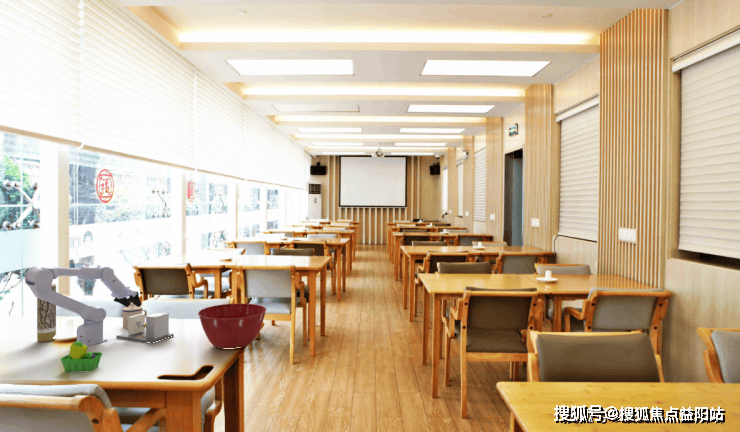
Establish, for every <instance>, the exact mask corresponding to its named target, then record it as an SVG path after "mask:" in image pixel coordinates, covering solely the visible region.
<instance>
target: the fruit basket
mask: <svg viewBox="0 0 740 432" xmlns="http://www.w3.org/2000/svg"><path fill="white" fill-rule="evenodd" d="M102 355H103V352H99V351H97V352H92V351H89V352H88V346H86V345H84V344H82V343H81V342H80V341H77V340H76V341H74V342H72V343H71V345H70V346H69V353H68V354H67V355H65V356H62V357H61V358H60V361H61V365H62V366H63V367H62V368H63V370H64V372H68V371H70V372H71V371H77V372H78V371H84V372H85V371H90V372H91V371H94V370H95V369H96V368H98V367H99V364H100V361H101V357H102ZM94 368H95V369H94ZM68 373H69V372H68Z"/></svg>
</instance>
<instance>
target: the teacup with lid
mask: <svg viewBox="0 0 740 432" xmlns="http://www.w3.org/2000/svg"><path fill="white" fill-rule="evenodd" d="M130 303H131V302H130ZM143 312H144V314H145V318H146V316H148V311H147V310H146V309H143V306H142V305H141V306H140V307H137V306H136V305H134V304H133V303H131V304H130V306H129V307H126V306H124V308H122V328H124V329H125V328H126V329H128V317H130V316H134V315H138V314H143Z"/></svg>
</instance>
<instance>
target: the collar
mask: <svg viewBox="0 0 740 432" xmlns="http://www.w3.org/2000/svg"><path fill="white" fill-rule="evenodd" d="M136 322H141V323H146V317H145V313H142V314H138V315H134V316H130V317H128V328H127V333H128V334H130V335H133V334H136V333H139V332H143V331H145V330H146V327H140V326H136Z"/></svg>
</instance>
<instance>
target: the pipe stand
mask: <svg viewBox="0 0 740 432" xmlns="http://www.w3.org/2000/svg"><path fill="white" fill-rule="evenodd" d="M169 317H170V315H169V312H157V313H152V314H149V315H147V316H146V317H145V323H141V322H136V326H140V327H145V330H146V338H147V339H153V340H155V339H158V338H161V337H164V336H167V335H169V333H170V332H169V331H170V330H169V322H170V321H169V320H170V318H169Z"/></svg>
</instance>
